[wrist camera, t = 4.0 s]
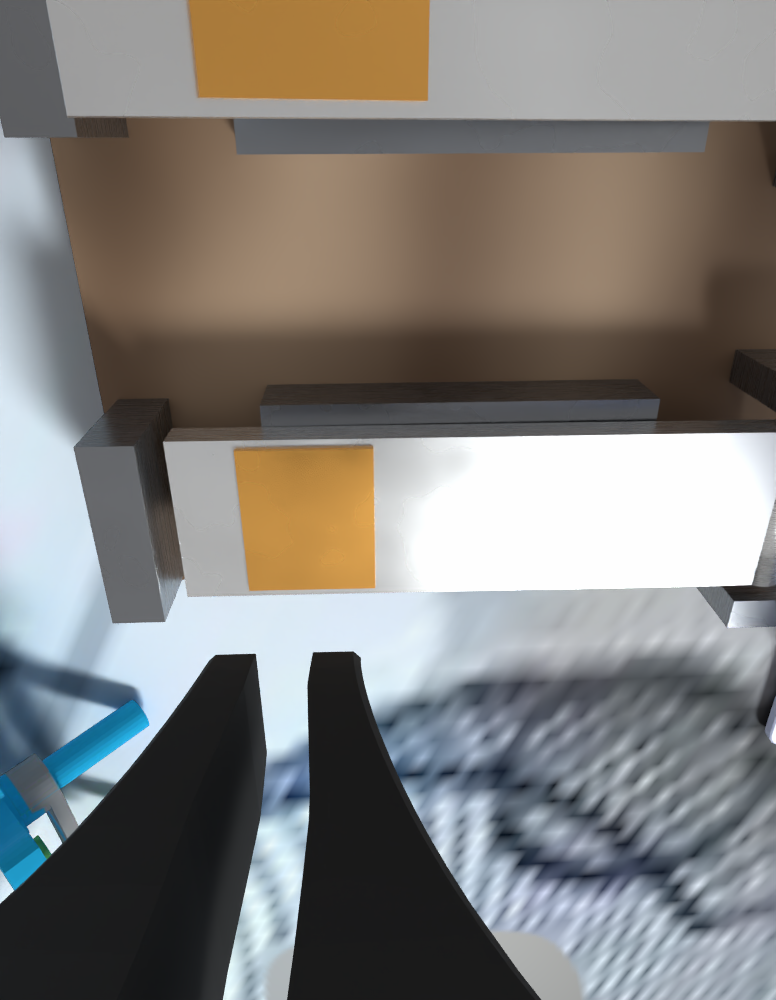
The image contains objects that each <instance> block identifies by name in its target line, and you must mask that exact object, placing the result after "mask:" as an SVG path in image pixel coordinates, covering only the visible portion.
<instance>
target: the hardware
mask: <svg viewBox="0 0 776 1000" xmlns="http://www.w3.org/2000/svg"><path fill="white" fill-rule="evenodd" d="M0 119H1V124H2V128H3V133H4V137H16V138H129V135H128V128H127V122H126V118H67V113H66V108H65V102H64V97H63V91H62V86H61V81H60V75H59V70H58V64H57V59H56V53H55V48H54V43H53V37H52V32H51V26H50V21H49V16H48V10H47V5H46V0H0ZM709 124H710V121H556V120H382V119H234V129H235V140H236V151H237V155H257V154H453V153H648V152H705V146H706V141H707V135H708V129H709ZM772 186H773V187H776V170H775V175H774V179H773V184H772ZM729 382H730V383H732V384H733V385H735V386H736V387H738V388H739V389H741V390H742V391H744V392H745V393H747V394H749V395H750V396H752V397H753V398H755V399H756V400H758V401H759V402H761V403H762V404H764V405H765V406H767V407H768V408H770V409H772V410H773V411H775V412H776V349H736V350H735V355H734V359H733V364H732V368H731V373H730V377H729ZM659 404H660V398H659V397H657V396H656V395H655V394H654V393H653V392H652V391H650V390H649V389H648V388H647V387H646V386H645V385H643V384H642V383H641V382H640V381H639V380H638V379H604V380H540V381H475V382H411V383H346V384H281V385H267V387H266V390H265V392H264V395H263V398H262V400H261V403H260V415H261V427H289V426H357V425H425V424H494V423H562V422H630V421H656V420H657V415H658V409H659ZM172 428H173V425H172V418H171V412H170V405H169V399H168V398H153V399H118V400H117V401H116V402H115V403H114V404H113V405H112V406H111V407H110V408H109V410H108V411H107V412H106V413H105V414H104V415H103V416H102V417H101V418H100V419H99V420H98V421H97V422H96V424H95V425H94V426H93V427H92V428H91V429H90V430H89V431H88V432H87V433H86V434H85V435H84V437H83V438H82V439H81V440H80V441H79V442H78V443H77V444H76V445H75V446H74V451H75V456H76V460H77V465H78V469H79V474H80V478H81V483H82V487H83V492H84V496H85V501H86V505H87V510H88V514H89V519H90V523H91V528H92V532H93V537H94V541H95V546H96V550H97V555H98V559H99V564H100V568H101V573H102V577H103V582H104V586H105V591H106V595H107V600H108V604H109V609H110V613H111V618H112V622H113V623H139V622H165V621H166V618H167V616H168V613H169V611H170V608H171V606H172V603H173V601H174V598H175V596H176V593H177V591H178V588H179V586H180V583H181V581H182V578H183V576H184V570H183V564H182V558H181V552H180V545H179V539H178V533H177V527H176V520H175V514H174V508H173V501H172V495H171V489H170V483H169V476H168V470H167V464H166V458H165V451H164V445H163V441H164V439H165V438H166V436H167V435H168V433H169V432H170V430H171V429H172ZM696 587H697V589H698V590H699V591H700V593H701V594H702V595H703V596H704V598H705V599H706V600H707V602H708V603H709V604H710V606H711V607H712V608H713V610H714V611H715V612H716V614H717V615H718V616H719V618H720V619H721V620H722V622H723V623H724V624H725V626H726V627H727V628H738V627H775V626H776V585H774V586H771V587H758V586H753V585H732V586H696Z"/></svg>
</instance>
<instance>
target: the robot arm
mask: <svg viewBox="0 0 776 1000" xmlns="http://www.w3.org/2000/svg"><path fill="white" fill-rule="evenodd" d="M308 730H309V773H310V806H309V825H308V834H307V843H306V852H305V861H304V871H303V880H302V888H301V896H300V904H299V913H298V921H297V929H296V937H295V946H294V953H293V961H292V968H291V975H290V983H289V990H288V997H287V1000H541V999H540V998H539V996H538V995H537V994H536V993H535V991H534V990H533V989H532V988H531V986H530V985H529V984H528V982H527V981H526V980H525V979H524V977H523V976H522V975H521V973H520V972H519V971H518V970H517V968H516V967H515V965H514V964H513V963H512V961H511V960H510V959H509V957H508V956H507V954H506V953H505V952H504V950H503V949H502V947H501V946H500V944H499V943H498V942H497V940H496V939H495V937H494V936H493V935H492V933H491V932H490V930H489V929H488V928H487V926H486V925H485V923H484V922H483V921H482V919H481V918H480V916H479V915H478V914H477V912H476V911H475V909H474V908H473V907H472V905H471V904H470V902H469V901H468V899H467V897H466V896H465V894H464V893H463V891H462V890H461V888H460V886H459V885H458V883H457V882H456V880H455V879H454V877H453V875H452V874H451V872H450V871H449V869H448V868H447V866H446V864H445V863H444V861H443V859H442V857H441V856H440V854H439V852H438V851H437V849H436V847H435V846H434V844H433V842H432V841H431V839H430V837H429V835H428V833H427V832H426V830H425V828H424V826H423V824H422V823H421V821H420V819H419V817H418V815H417V813H416V811H415V809H414V807H413V805H412V803H411V801H410V799H409V797H408V795H407V793H406V791H405V789H404V787H403V785H402V783H401V781H400V779H399V777H398V775H397V772H396V770H395V768H394V766H393V764H392V761H391V759H390V756H389V754H388V752H387V749H386V747H385V744H384V742H383V739H382V737H381V734H380V732H379V729H378V727H377V724H376V721H375V718H374V716H373V713H372V709H371V706H370V703H369V700H368V697H367V693H366V689H365V685H364V681H363V676H362V670H361V658H360V657H359V656H358V655H357V654H356V653H354V652H314V653H313V656H312V661H311V666H310V672H309V678H308ZM765 733H766V735H767V736H768V738H769V739H770V741H771V742H773V743H774V744H776V696H775V699H774V702H773V705H772V708H771V712H770V715H769V718H768V721H767V724H766V727H765ZM266 756H267V750H266V741H265V732H264V723H263V715H262V706H261V697H260V688H259V679H258V670H257V661H256V654H233V655H215V656H214V657H213V658H212V659H211V660H210V661H209V662H208V663H207V665H206V666H205V668H204V669H203V671H202V672H201V674H200V675H199V677H198V678H197V680H196V681H195V682H194V684H193V685H192V687H191V688H190V690H189V691H188V693H187V694H186V695H185V697H184V698H183V700H182V701H181V702H180V704H179V705H178V706H177V708H176V709H175V711H174V712H173V713H172V715H171V716H170V717H169V719H168V720H167V721H166V723H165V724H164V725H163V727H162V728H161V729H160V730H159V732H158V733H157V734H156V736H155V737H154V738H153V739H152V741H151V742H150V743H149V745H148V746H147V747H146V748H145V750H144V751H143V752H142V754H141V755H140V756H139V757H138V759H137V760H136V761H135V762H134V764H133V765H132V766H131V767H130V768H129V770H128V771H127V772H126V773H125V774H124V775H123V777H122V778H121V779H120V780H119V781H118V782H117V784H116V785H115V786H114V787H113V788H112V789H111V790H110V792H109V793H108V794H107V795H106V796H105V797H104V799H103V800H102V801H101V802H100V803H99V804H98V806H97V807H96V808H95V809H94V810H93V811H92V812H91V814H90V815H89V816H88V817H87V818H86V819H85V820H84V821H83V822H82V823H81V824H80V825H79V827H78V828H77V829H76V830H75V831H74V832H73V833H72V834H71V835H70V836H69V837H68V838H67V839H66V840H65V841H64V842H63V843H62V844H61V845H60V847H59V848H58V849H57V850H56V851H55V852H54V853H53V854H52V855H51V856H50V857H49V858H48V859H47V860H46V861H45V862H44V863H43V864H42V865H41V866H40V867H39V868H38V869H37V870H36V871H35V872H34V873H33V874H31V875H30V876H29V877H28V878H27V879H26V880H25V881H24V882H23V883H22V884H21V885H20V886H19V887H18V888H17V889H16V890H14V891H13V892H12V893H11V894H10V895H9V896H8V897H7V898H6V899H5V900H4V901H3V902H1V903H0V1000H223V995H224V989H225V984H226V978H227V972H228V968H229V963H230V958H231V954H232V949H233V944H234V940H235V935H236V930H237V926H238V921H239V916H240V911H241V907H242V902H243V897H244V893H245V888H246V883H247V879H248V874H249V869H250V865H251V860H252V855H253V850H254V846H255V841H256V836H257V831H258V826H259V821H260V815H261V806H262V797H263V787H264V777H265V766H266Z"/></svg>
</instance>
